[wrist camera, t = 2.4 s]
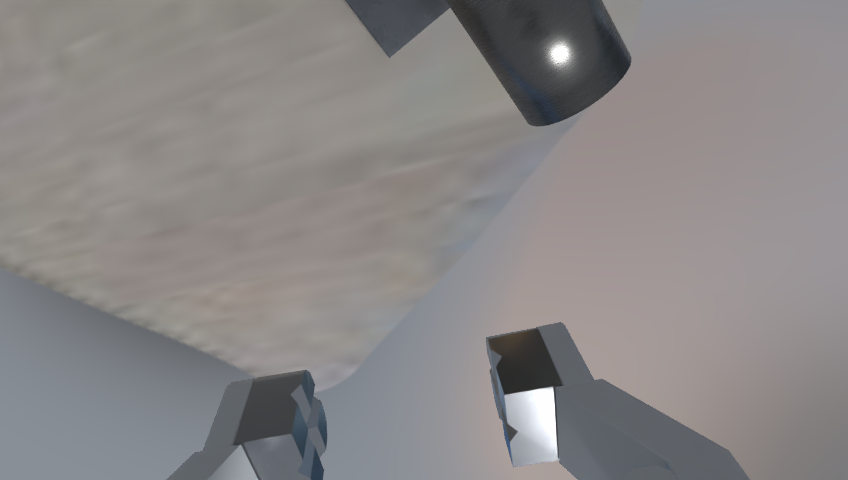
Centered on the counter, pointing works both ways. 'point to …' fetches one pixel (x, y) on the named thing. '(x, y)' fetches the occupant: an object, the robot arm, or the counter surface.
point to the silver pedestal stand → (397, 19)
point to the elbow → (547, 52)
